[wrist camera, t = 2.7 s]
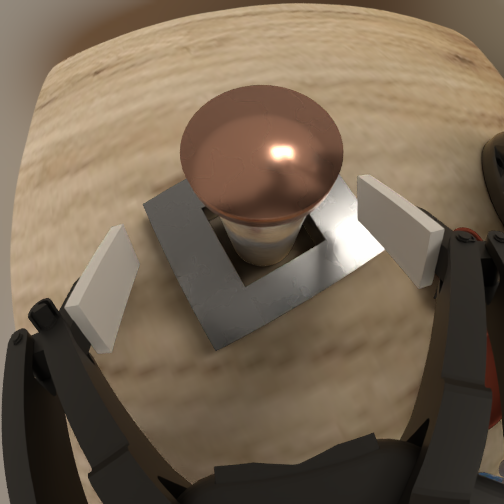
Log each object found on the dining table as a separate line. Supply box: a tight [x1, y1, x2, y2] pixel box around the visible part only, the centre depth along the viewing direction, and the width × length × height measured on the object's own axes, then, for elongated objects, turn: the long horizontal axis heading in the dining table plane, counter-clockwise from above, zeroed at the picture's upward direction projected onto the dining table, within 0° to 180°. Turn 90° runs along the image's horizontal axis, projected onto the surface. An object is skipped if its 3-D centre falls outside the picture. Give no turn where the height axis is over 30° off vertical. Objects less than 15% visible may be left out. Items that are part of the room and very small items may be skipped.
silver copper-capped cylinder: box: [180, 85, 343, 266], centre depth 16 cm, size 6×6×13 cm
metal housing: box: [143, 175, 385, 351], centre depth 21 cm, size 14×12×3 cm
